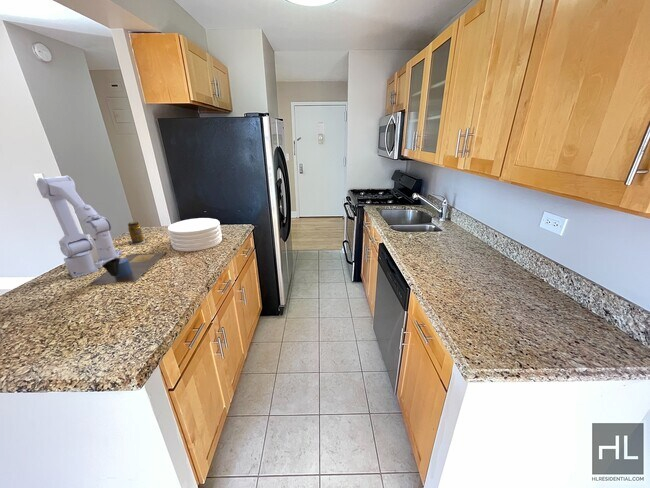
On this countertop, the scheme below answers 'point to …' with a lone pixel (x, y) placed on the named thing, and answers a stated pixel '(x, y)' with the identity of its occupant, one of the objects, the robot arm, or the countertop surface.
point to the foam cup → (94, 250)
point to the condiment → (135, 233)
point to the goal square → (142, 258)
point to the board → (136, 269)
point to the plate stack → (195, 234)
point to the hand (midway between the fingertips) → (114, 275)
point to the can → (124, 268)
